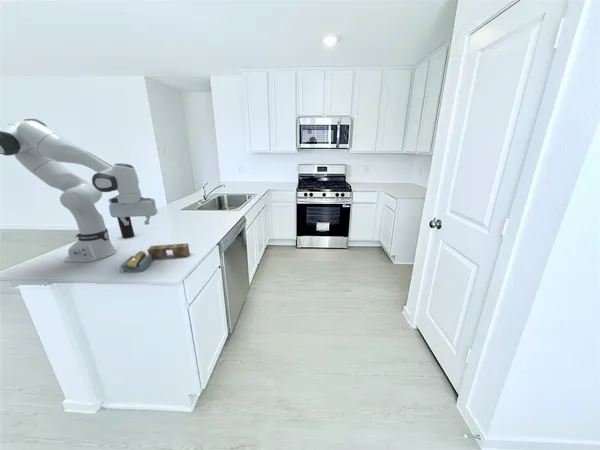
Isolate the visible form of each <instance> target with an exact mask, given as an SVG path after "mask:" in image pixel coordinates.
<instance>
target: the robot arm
mask: <svg viewBox="0 0 600 450" xmlns="http://www.w3.org/2000/svg"><path fill="white" fill-rule="evenodd" d="M0 155H3V156H8V157H9V156H14V157H15V159H16V160H17V161H18V162H19V163H20V164H21V165H22V166H23V167H24V168H25V169H26V170H28V171H29V172H30V173H31V174H33V175H34V176H35V177H37V178H38V179H40V180H41V182H43V183H45V184H46V185H48V186H49V187H51V188H54V189H57V190H60V191H61V192H63V193H61V195H60V197H59V202H60V204H61V205H62V206H63V207H64V208H65V209H67V210H68V211H69V212H70V213H71V215H72V216H73V218H74V220H75V223H76V224H77V225H76V226H77V228H78V230H79V233H77V234H76V235H75V238H78V239H77V241H75V242H74V243H73V244H71V246H70V247H69V248H68V250H67V251H68V255H67V256H66V257H65V258H64V259H63V261H64V262H66V263H91V262H94V261H95V262H96V261H97V260H101V259H105V258H107V257H110V256H112V255H114V254H115V253H116V251H117V250H116V249H115V247H114V245H113V244H112V241H111V239H110V235H109V230H108V228H106V224H105V220H104V217H103V215H102V214H101V213H100V212H99V211H98V209H97V207H96V206H95V204H97V203H98V202H99V201H100V200H101V199H102V197H103V193H110V192H115V191H117V192H118V194H117V195H116V196H113V197H110V198H108V203H109V205H108V208H109V214H110V217H112V218H117V217H120V219H121V220H122V221H123V222H124V225H129V221H126V220H125V217H130V218H132V217H133V218H135V217H145V219H146V220H144V222H143V223H144V225H147V226H148V225H150V219H151V217H154V216H156V215H157V214H158V209H157V206H156V200H155V199H154V198H152V197H151V196H147V197H142V192H141V189H140V187H139V178H138V174H137V172H136V171H137V170H136V169H135V167H134V166H133V165H131V164H128V163H115V164H113V165H111V164H109V163H107V161H104V160H102V159H101V158H100V157H98V156H96V155H94V154H93V153H91V152H89V151H87V150H85V149H84V148H82V147H80V146H78V145H77V144H75V143H73V142H72V141H70V140H69V139H67V138H66V137H64V136H63V135H61V134H60V133H59V132H56V131H55V130H53V129H52V128H50V127H48V126H47V125H46V124H45V123H44V122H42V121H41V120H39V119H36V118H27V119H23V120H20V121H15V122H11V123H7V124H6V125H3V126H1V127H0ZM61 163H65V164H66V163H67V164H76V165H82V166H85V167H87V168H89V169H91V170H93V171H95V172H96V173H95V174H93V175H92V178H91V182H89V181H87V180H85V179H84V178H82V177H80V176H79V175H77V174H76V173H74V172H72V171H71V170H70V169H68V168H66V166H64V165H62V164H61Z"/></svg>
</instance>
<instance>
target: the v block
mask: <svg viewBox="0 0 600 450" xmlns="http://www.w3.org/2000/svg"><path fill="white" fill-rule="evenodd" d="M134 256H135V255H131V256H130V257H128V258H127V259H126V260H125V261H124V262H123V263H122V264H121V270H122V273H123V274H124V273H133V272H145V271H146V270H147V269H148V268H149V266H151V264H153V260H152V256H151V255H149V254H146V257H145V258H144V259H143V260H142V261H141V262H140V263H139V264H138V265H137V266H136V267H135V268H134V269H129V268H127V266H126V264H127V263H128V262H129V261H130V260H131V259H132V258H133V257H134Z"/></svg>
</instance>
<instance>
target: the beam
mask: <svg viewBox="0 0 600 450" xmlns="http://www.w3.org/2000/svg"><path fill="white" fill-rule="evenodd" d="M167 251H171V252H172V256H173V259H178V258H179V259H180V258H186V257H187V256H188V257H189V255H190V248H189V243H187V242H186V243H175V244H174V243H173V244H162V245H161V244H160V245H159V244H158V245H157V244H156V245H150V246H149V248H148V249H147V252H148V253H147V255H151V256H152V261H153V260H164V259H165V258H166V257H167V256H168V253H167Z"/></svg>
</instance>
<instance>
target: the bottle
mask: <svg viewBox="0 0 600 450" xmlns="http://www.w3.org/2000/svg"><path fill="white" fill-rule="evenodd" d="M116 218H117V223H118V227H119V230H120V234H121V238H122V239H130V238H133V237H135V231H134V228H133V225H132V223H133V222H132V220H131V217H125V220H126V221H129V225H124V222H123V221H122V220H121V219H120V217H116Z"/></svg>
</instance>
